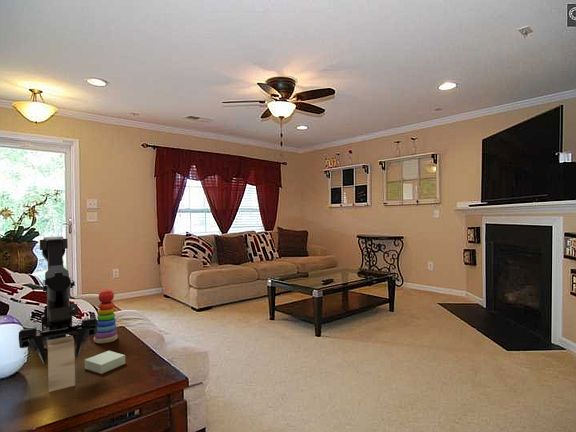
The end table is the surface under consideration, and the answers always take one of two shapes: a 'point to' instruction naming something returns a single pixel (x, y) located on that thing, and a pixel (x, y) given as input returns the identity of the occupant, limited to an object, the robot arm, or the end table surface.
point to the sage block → (104, 362)
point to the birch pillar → (61, 363)
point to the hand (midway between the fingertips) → (61, 360)
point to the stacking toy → (106, 319)
